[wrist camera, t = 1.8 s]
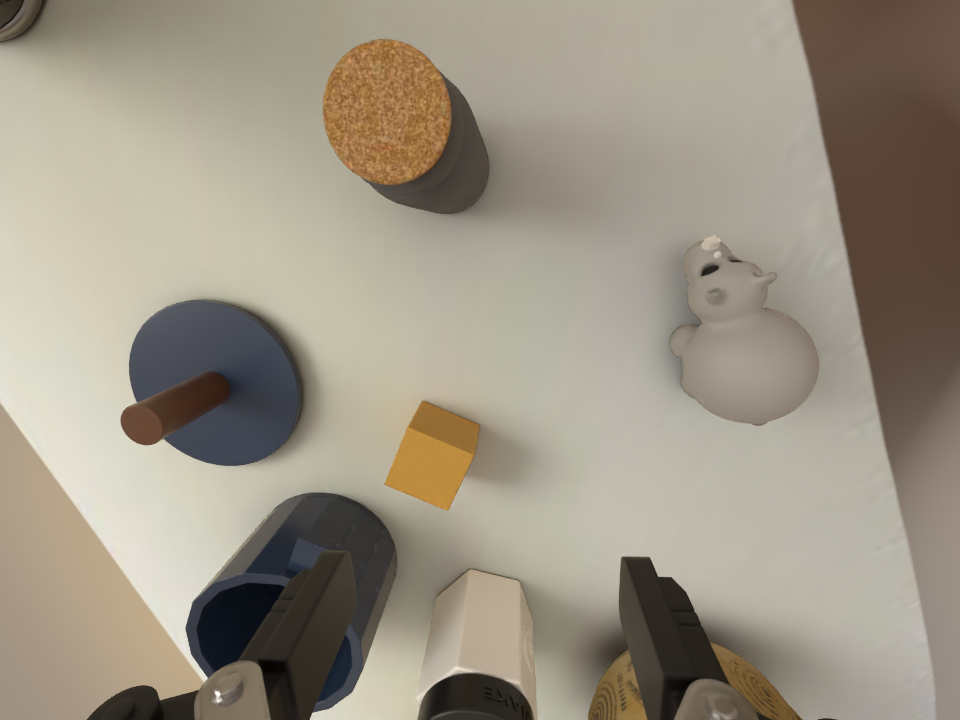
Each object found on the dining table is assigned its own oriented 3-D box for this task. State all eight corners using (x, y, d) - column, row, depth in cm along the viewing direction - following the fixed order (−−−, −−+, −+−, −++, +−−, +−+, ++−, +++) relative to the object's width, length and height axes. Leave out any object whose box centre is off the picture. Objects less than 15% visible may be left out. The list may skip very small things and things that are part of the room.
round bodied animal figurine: (739, 214, 30) (825, 207, 21) (773, 375, 32) (860, 423, 24) (633, 252, 31) (675, 259, 23) (674, 404, 34) (725, 459, 26)
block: (400, 451, 37) (383, 484, 32) (422, 400, 35) (407, 427, 30) (456, 474, 37) (447, 511, 32) (480, 424, 35) (474, 455, 31)
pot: (239, 599, 42) (164, 700, 33) (289, 445, 37) (217, 514, 28) (361, 647, 43) (320, 759, 34) (428, 502, 38) (400, 588, 29)
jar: (541, 637, 41) (552, 796, 29) (457, 651, 42) (437, 809, 31) (514, 558, 39) (515, 697, 27) (427, 576, 40) (392, 716, 28)
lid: (128, 420, 38) (26, 471, 30) (157, 269, 34) (49, 281, 26) (280, 482, 38) (219, 547, 30) (326, 341, 34) (270, 374, 26)
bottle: (499, 134, 29) (484, 42, 15) (477, 224, 31) (445, 218, 17) (414, 111, 29) (317, -3, 15) (397, 202, 31) (295, 178, 17)
